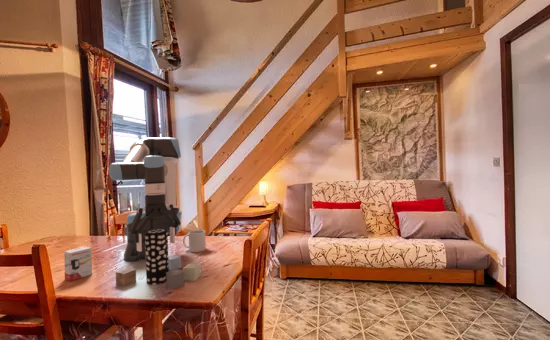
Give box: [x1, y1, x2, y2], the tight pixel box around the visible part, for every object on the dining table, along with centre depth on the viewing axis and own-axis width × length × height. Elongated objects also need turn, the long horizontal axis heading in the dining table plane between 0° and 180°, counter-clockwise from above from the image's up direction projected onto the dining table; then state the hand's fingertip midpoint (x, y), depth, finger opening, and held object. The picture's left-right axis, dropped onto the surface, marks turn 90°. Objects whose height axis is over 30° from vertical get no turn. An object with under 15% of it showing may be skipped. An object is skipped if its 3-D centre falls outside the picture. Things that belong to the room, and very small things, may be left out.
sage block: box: [182, 263, 202, 282], centre depth 109 cm, size 5×5×5 cm
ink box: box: [63, 246, 93, 282], centre depth 114 cm, size 9×5×12 cm, turn 148°
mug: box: [182, 229, 207, 253], centre depth 148 cm, size 11×10×10 cm
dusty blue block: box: [168, 254, 182, 272], centre depth 121 cm, size 5×5×5 cm
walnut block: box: [115, 267, 137, 288], centre depth 106 cm, size 5×5×5 cm
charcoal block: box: [165, 268, 185, 290], centre depth 103 cm, size 5×5×5 cm
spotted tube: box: [145, 229, 170, 286], centre depth 107 cm, size 8×8×20 cm
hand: (156, 246), depth 107 cm, fingers open, 13 cm apart
